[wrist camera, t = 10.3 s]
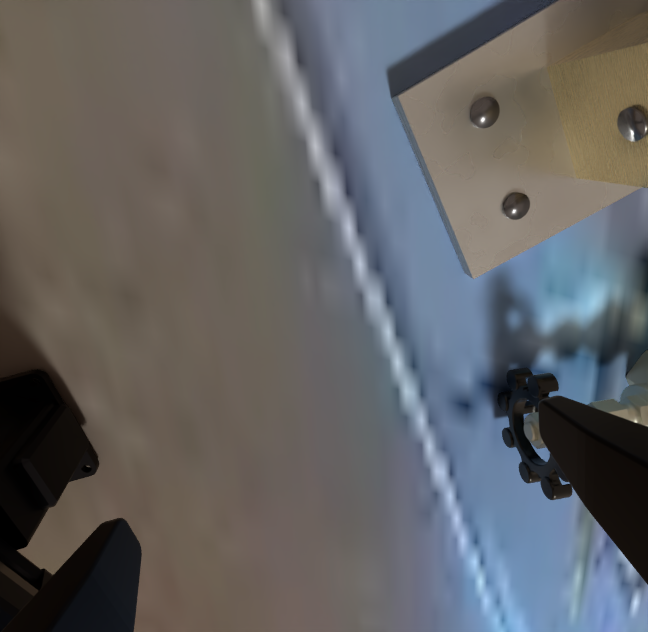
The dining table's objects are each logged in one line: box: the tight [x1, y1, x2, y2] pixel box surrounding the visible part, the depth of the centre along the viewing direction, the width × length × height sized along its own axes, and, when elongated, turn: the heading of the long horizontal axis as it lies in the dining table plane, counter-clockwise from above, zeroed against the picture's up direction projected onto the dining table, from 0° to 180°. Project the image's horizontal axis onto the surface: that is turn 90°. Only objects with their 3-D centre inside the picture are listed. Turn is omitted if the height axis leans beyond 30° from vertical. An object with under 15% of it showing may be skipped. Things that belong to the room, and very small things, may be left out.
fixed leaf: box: [391, 0, 648, 279], centre depth 16 cm, size 12×9×8 cm
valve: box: [497, 350, 648, 500], centre depth 23 cm, size 7×7×12 cm
